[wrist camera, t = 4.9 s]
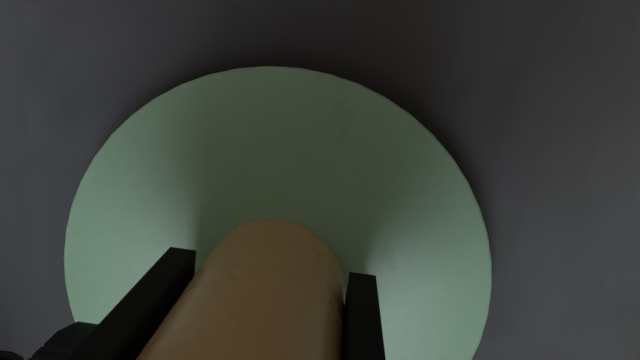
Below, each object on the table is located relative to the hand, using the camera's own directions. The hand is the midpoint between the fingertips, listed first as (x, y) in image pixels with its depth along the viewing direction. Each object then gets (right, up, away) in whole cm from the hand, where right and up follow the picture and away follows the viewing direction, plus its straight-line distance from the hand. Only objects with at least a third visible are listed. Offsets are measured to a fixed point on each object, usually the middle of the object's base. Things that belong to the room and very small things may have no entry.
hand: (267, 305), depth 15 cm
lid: (0, 0, +2) cm, 2 cm away
